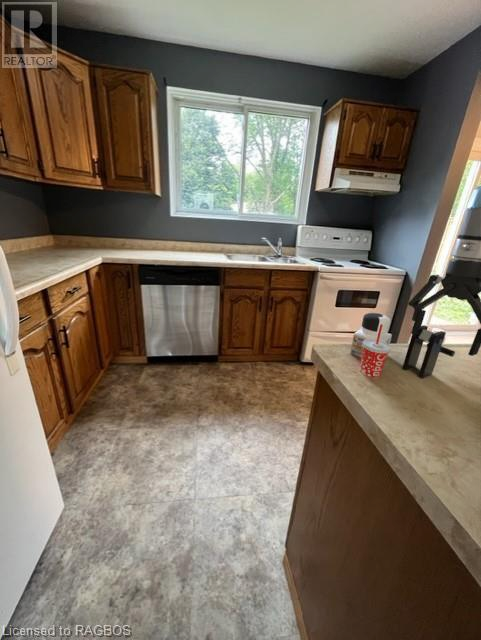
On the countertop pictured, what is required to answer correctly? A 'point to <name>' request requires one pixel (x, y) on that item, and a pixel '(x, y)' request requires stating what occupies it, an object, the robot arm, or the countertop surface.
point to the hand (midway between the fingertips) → (441, 342)
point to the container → (370, 332)
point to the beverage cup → (374, 356)
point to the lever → (426, 338)
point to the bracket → (430, 353)
